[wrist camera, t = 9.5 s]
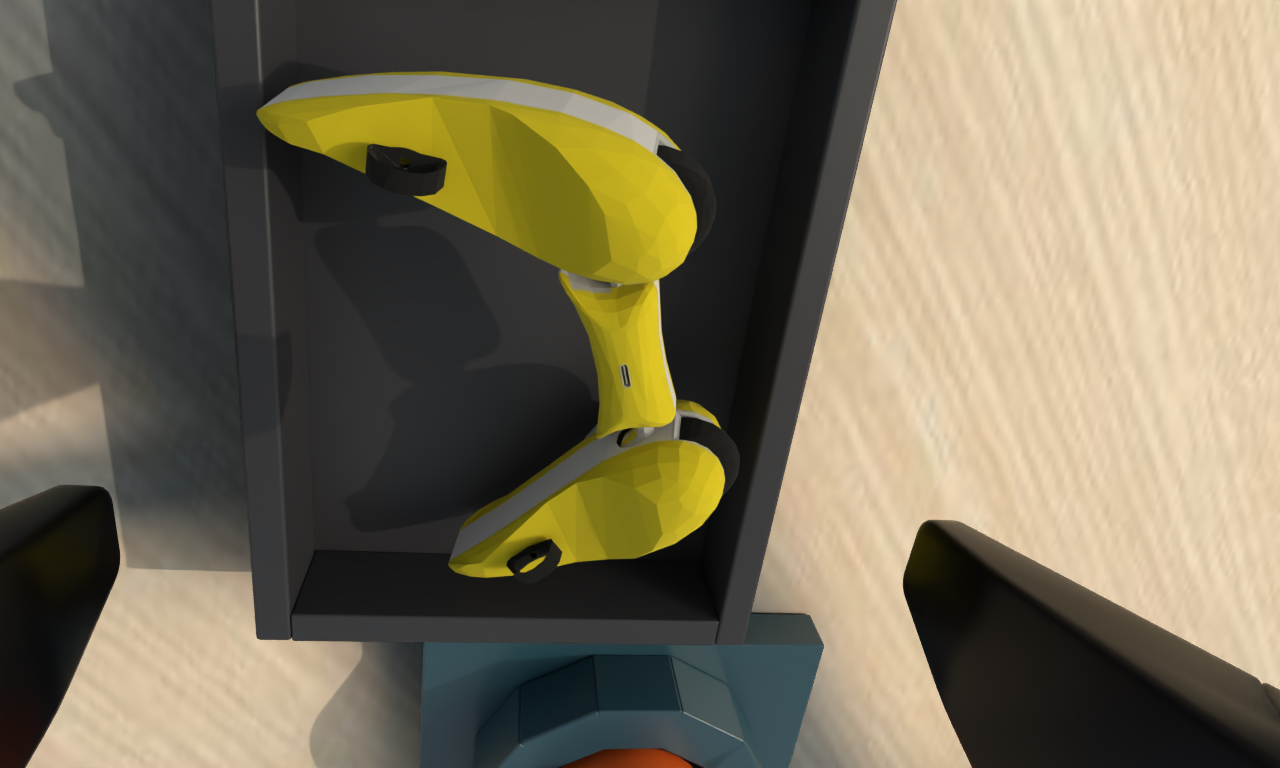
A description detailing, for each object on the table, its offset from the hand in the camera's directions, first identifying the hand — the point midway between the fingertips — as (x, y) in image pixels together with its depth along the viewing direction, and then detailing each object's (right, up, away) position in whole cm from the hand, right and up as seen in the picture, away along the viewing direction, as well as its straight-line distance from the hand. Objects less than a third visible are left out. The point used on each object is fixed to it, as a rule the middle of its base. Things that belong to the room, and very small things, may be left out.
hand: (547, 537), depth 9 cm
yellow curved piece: (-1, +3, +7) cm, 8 cm away
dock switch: (0, -8, +13) cm, 16 cm away
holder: (-1, +4, +8) cm, 9 cm away
